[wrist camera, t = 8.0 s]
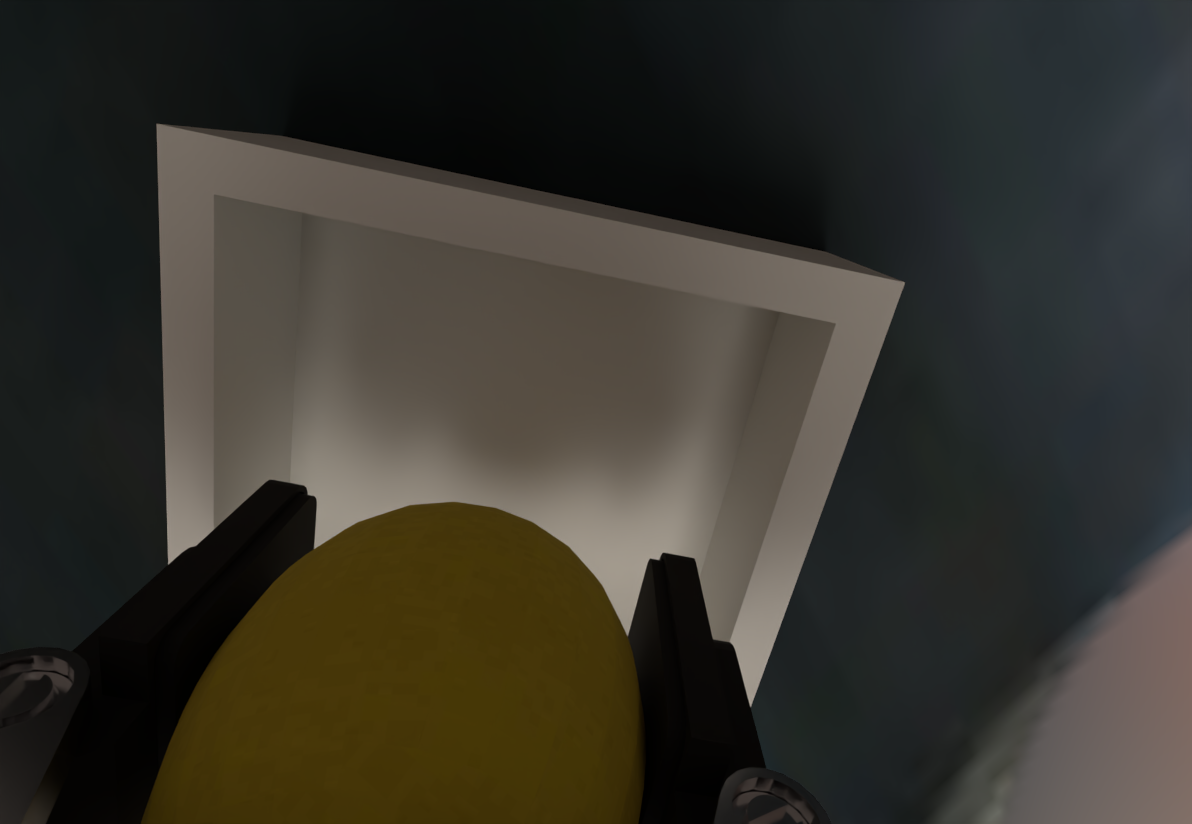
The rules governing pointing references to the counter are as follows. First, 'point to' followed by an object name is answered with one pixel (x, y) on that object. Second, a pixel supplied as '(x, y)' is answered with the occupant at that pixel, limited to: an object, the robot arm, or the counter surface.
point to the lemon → (417, 687)
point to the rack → (505, 364)
